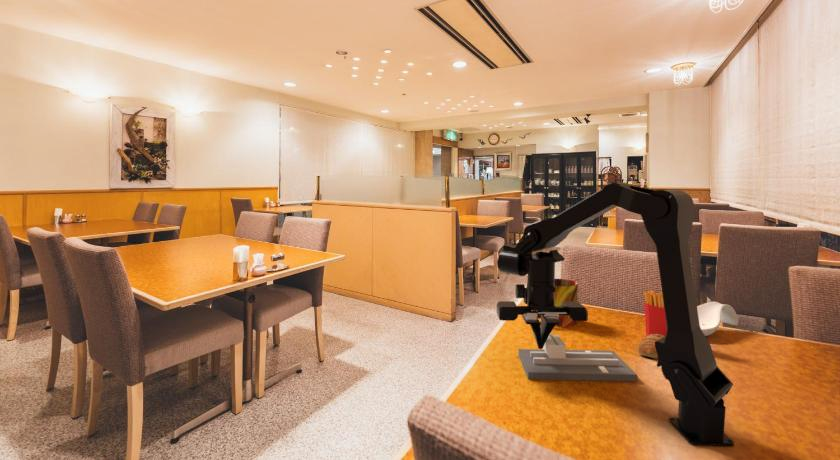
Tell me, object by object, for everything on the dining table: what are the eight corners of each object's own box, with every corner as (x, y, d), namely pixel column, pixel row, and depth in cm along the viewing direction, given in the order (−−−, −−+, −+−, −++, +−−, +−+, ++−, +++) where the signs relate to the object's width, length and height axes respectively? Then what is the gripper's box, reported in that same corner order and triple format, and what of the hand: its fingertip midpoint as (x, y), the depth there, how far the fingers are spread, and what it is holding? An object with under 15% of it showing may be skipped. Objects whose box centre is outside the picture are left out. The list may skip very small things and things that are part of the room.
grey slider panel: (636, 381, 80) (637, 369, 80) (528, 379, 82) (528, 366, 81) (612, 356, 92) (613, 345, 92) (518, 355, 94) (518, 344, 93)
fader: (565, 365, 84) (566, 344, 83) (548, 365, 84) (549, 344, 84) (557, 354, 90) (558, 334, 89) (542, 353, 90) (542, 334, 90)
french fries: (684, 345, 98) (687, 295, 96) (676, 349, 95) (678, 297, 94) (646, 334, 105) (649, 287, 104) (638, 337, 103) (640, 290, 102)
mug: (525, 322, 117) (526, 283, 116) (557, 314, 124) (558, 277, 123) (551, 331, 109) (551, 289, 107) (583, 323, 115) (584, 283, 114)
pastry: (662, 363, 88) (663, 347, 88) (630, 355, 93) (631, 339, 93) (674, 351, 95) (675, 336, 94) (644, 344, 100) (644, 329, 99)
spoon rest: (701, 345, 98) (703, 318, 98) (656, 330, 109) (657, 305, 108) (752, 330, 108) (754, 305, 108) (706, 317, 119) (707, 294, 118)
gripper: (572, 272, 93) (571, 335, 94) (493, 272, 94) (493, 334, 95) (589, 283, 81) (587, 354, 83) (499, 282, 83) (499, 353, 84)
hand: (540, 348), depth 87 cm, fingers closed
